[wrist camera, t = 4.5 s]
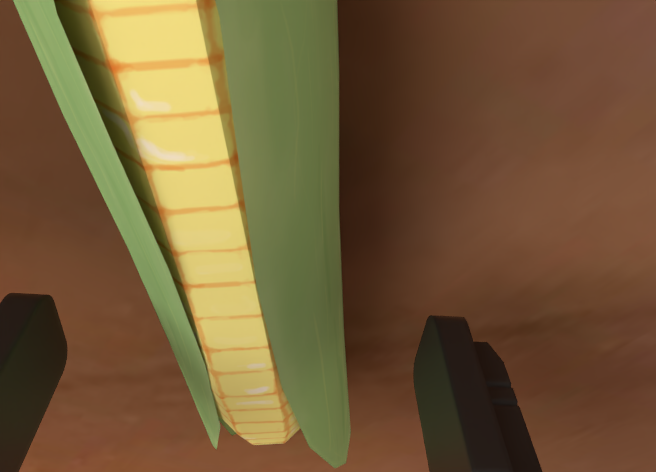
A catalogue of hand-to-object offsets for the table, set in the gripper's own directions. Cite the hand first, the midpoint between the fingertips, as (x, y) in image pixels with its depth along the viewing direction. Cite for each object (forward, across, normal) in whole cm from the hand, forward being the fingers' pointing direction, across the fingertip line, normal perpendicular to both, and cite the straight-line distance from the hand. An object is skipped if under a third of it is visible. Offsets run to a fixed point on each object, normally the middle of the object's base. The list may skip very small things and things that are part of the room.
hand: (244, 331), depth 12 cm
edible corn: (+4, 0, -1) cm, 4 cm away
